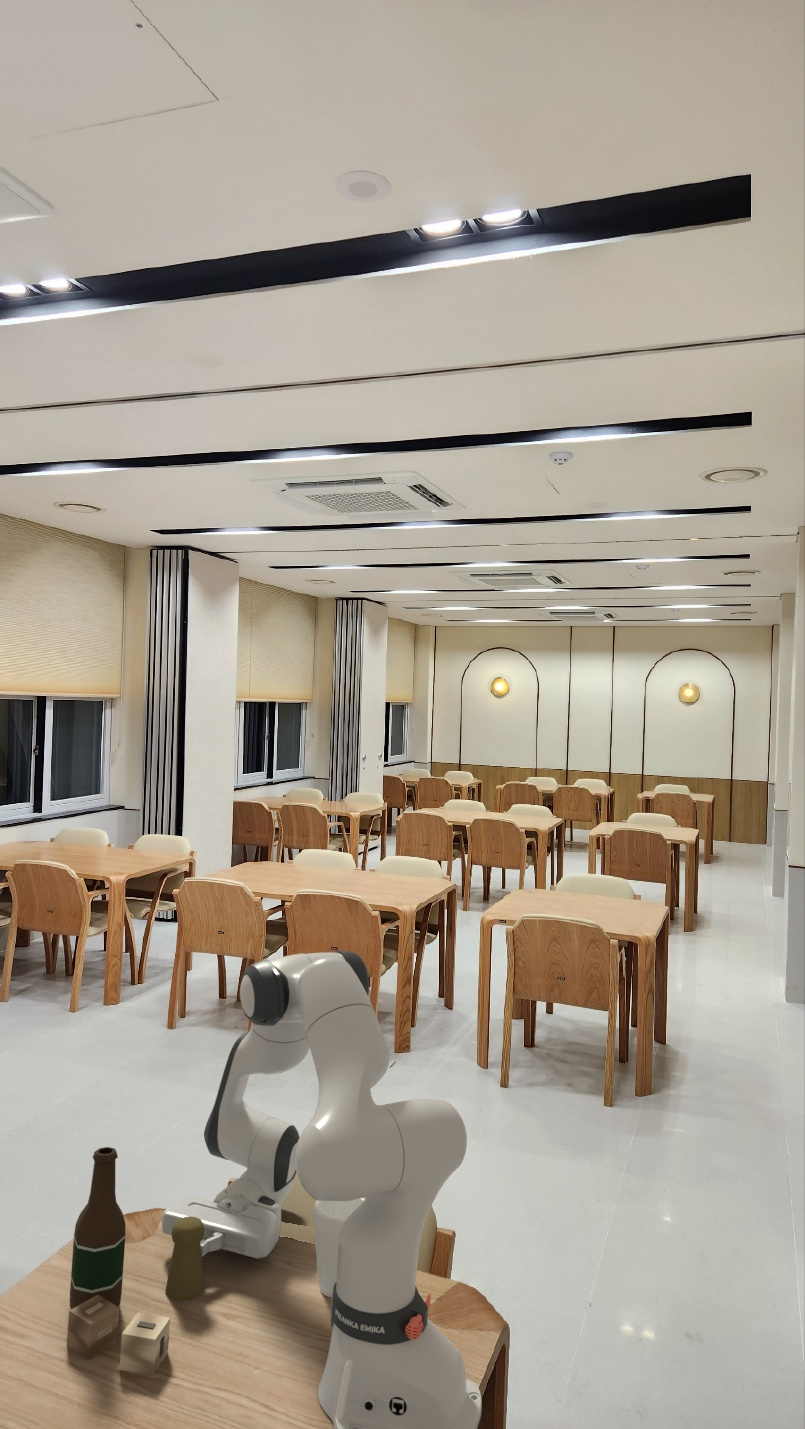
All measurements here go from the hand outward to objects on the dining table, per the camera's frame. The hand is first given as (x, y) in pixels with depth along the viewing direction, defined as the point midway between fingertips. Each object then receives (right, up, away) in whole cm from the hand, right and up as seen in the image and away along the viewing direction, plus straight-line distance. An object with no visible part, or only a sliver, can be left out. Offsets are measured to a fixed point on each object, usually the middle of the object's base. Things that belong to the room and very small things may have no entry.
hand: (194, 1249), depth 148 cm
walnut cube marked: (-11, -4, -16) cm, 20 cm away
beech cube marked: (-3, -5, -19) cm, 20 cm away
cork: (-1, -5, -2) cm, 6 cm away
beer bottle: (-14, -5, -8) cm, 17 cm away
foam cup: (+23, -7, +1) cm, 24 cm away
